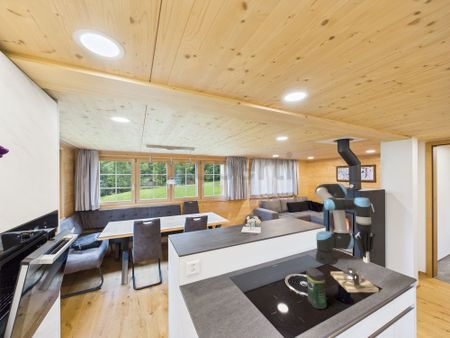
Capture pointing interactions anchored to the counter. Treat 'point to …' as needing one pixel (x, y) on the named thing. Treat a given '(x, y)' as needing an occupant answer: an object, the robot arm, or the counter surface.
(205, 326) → the counter surface
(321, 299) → the coffee jar
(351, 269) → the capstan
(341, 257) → the counter surface
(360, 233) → the robot arm
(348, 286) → the stand
